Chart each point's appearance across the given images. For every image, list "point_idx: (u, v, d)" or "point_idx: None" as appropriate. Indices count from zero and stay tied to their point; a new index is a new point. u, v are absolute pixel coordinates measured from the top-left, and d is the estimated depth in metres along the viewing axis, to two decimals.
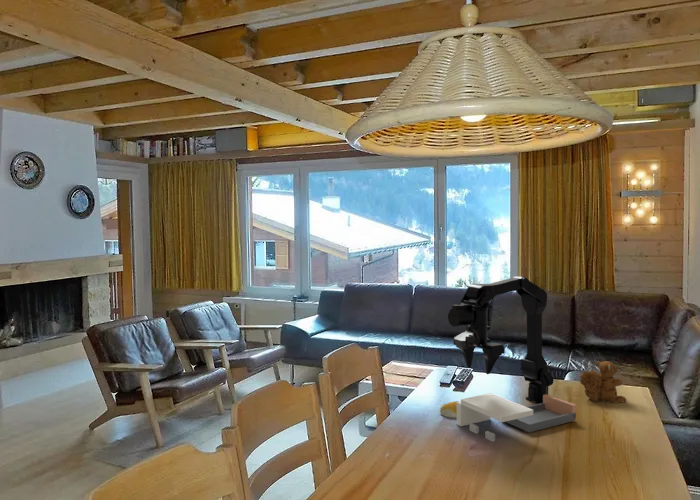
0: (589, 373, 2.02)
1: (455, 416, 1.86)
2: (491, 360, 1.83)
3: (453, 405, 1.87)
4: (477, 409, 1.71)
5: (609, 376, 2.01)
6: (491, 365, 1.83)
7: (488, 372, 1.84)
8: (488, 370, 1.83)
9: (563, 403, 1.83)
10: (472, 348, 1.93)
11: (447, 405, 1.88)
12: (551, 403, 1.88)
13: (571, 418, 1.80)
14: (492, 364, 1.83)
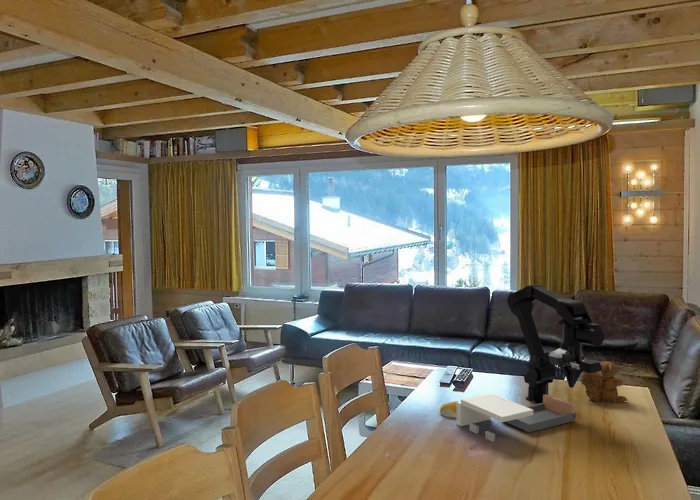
0: (590, 373, 2.02)
1: (455, 416, 1.86)
2: (575, 374, 1.87)
3: (453, 405, 1.87)
4: (477, 409, 1.71)
5: (610, 376, 2.01)
6: (575, 379, 1.87)
7: (572, 386, 1.88)
8: (573, 383, 1.88)
9: (563, 403, 1.83)
10: None
11: (447, 405, 1.88)
12: (551, 403, 1.88)
13: (571, 418, 1.80)
14: (576, 378, 1.88)
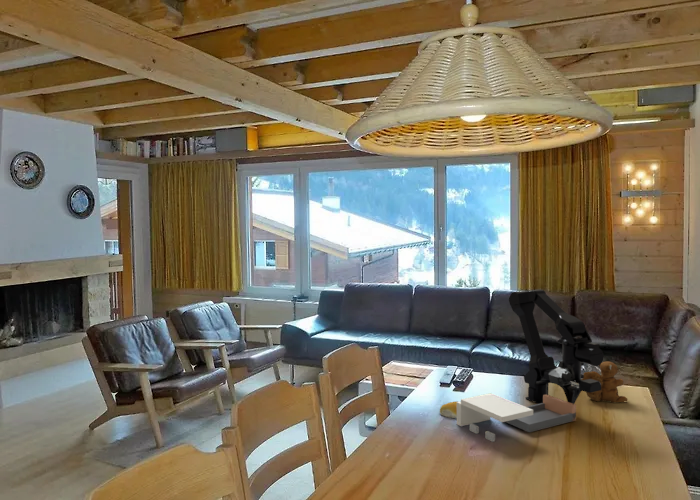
0: (590, 373, 2.02)
1: (455, 416, 1.85)
2: (575, 393, 1.87)
3: (452, 405, 1.87)
4: (477, 409, 1.71)
5: (610, 376, 2.01)
6: (575, 397, 1.88)
7: None
8: (572, 402, 1.88)
9: (563, 403, 1.83)
10: None
11: (446, 405, 1.88)
12: (551, 403, 1.88)
13: (571, 418, 1.80)
14: (576, 396, 1.88)
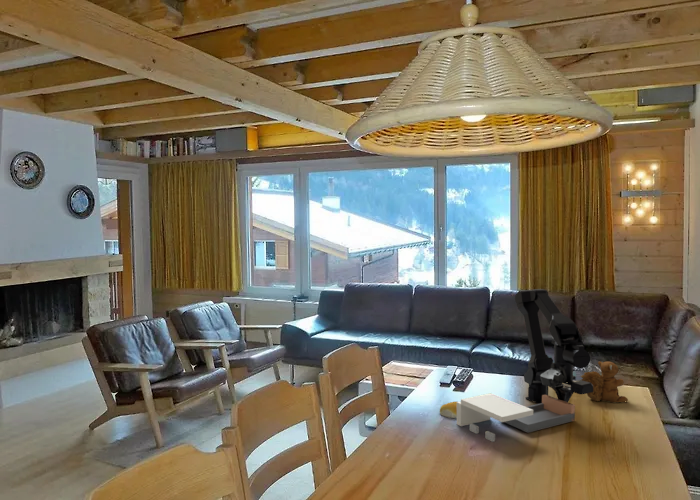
0: (591, 373, 2.02)
1: (454, 416, 1.85)
2: (567, 394, 1.86)
3: (452, 405, 1.87)
4: (477, 409, 1.71)
5: (610, 376, 2.01)
6: (567, 399, 1.86)
7: None
8: None
9: (562, 403, 1.83)
10: None
11: (446, 405, 1.88)
12: (550, 403, 1.87)
13: (570, 418, 1.80)
14: (568, 398, 1.86)
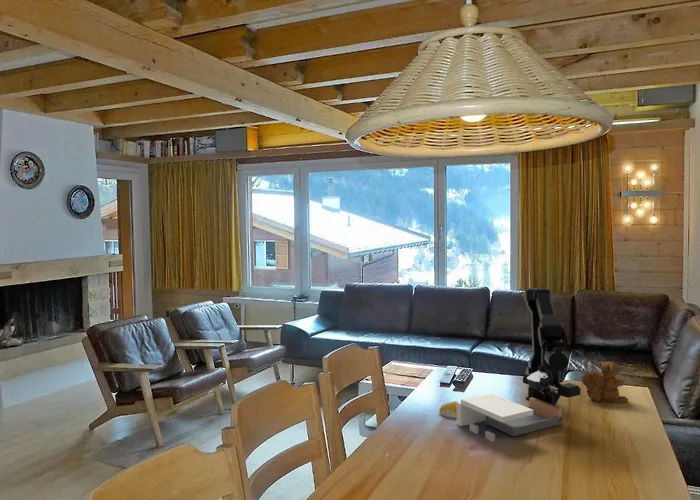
0: (591, 373, 2.02)
1: (454, 416, 1.85)
2: (554, 397, 1.83)
3: (452, 405, 1.87)
4: (477, 409, 1.71)
5: (611, 376, 2.01)
6: (554, 402, 1.83)
7: None
8: None
9: (549, 406, 1.80)
10: None
11: (446, 405, 1.88)
12: (537, 406, 1.85)
13: (557, 422, 1.77)
14: (555, 401, 1.83)
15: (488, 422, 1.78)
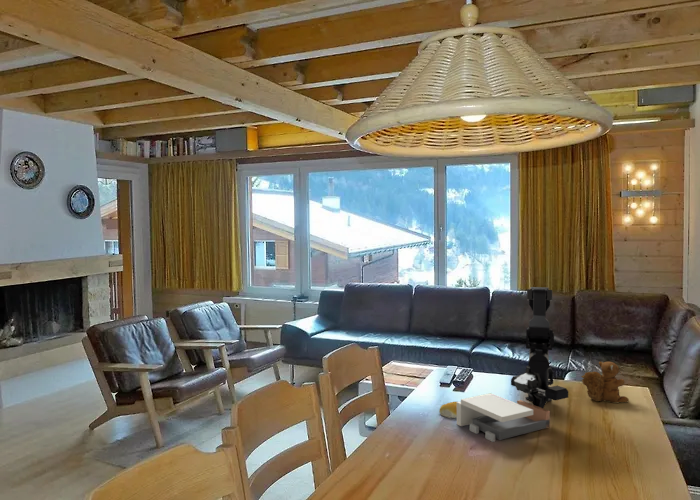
0: (591, 373, 2.02)
1: (454, 416, 1.85)
2: (542, 400, 1.80)
3: (452, 405, 1.87)
4: (477, 409, 1.71)
5: (611, 376, 2.01)
6: (542, 405, 1.81)
7: None
8: None
9: (537, 409, 1.78)
10: None
11: (446, 405, 1.88)
12: None
13: (545, 425, 1.75)
14: (543, 404, 1.81)
15: None
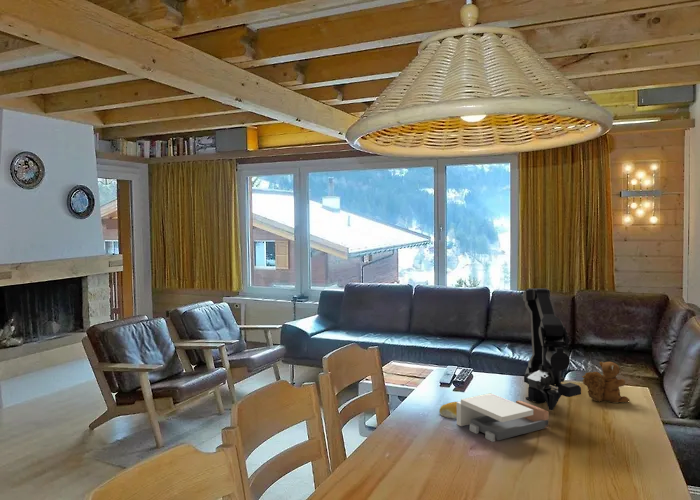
0: (592, 374, 2.02)
1: (454, 416, 1.85)
2: (555, 397, 1.83)
3: (452, 405, 1.87)
4: (477, 409, 1.71)
5: (612, 376, 2.00)
6: (555, 402, 1.83)
7: (552, 408, 1.84)
8: (552, 406, 1.84)
9: (536, 409, 1.78)
10: None
11: (446, 405, 1.88)
12: None
13: (543, 425, 1.75)
14: (556, 401, 1.84)
15: None
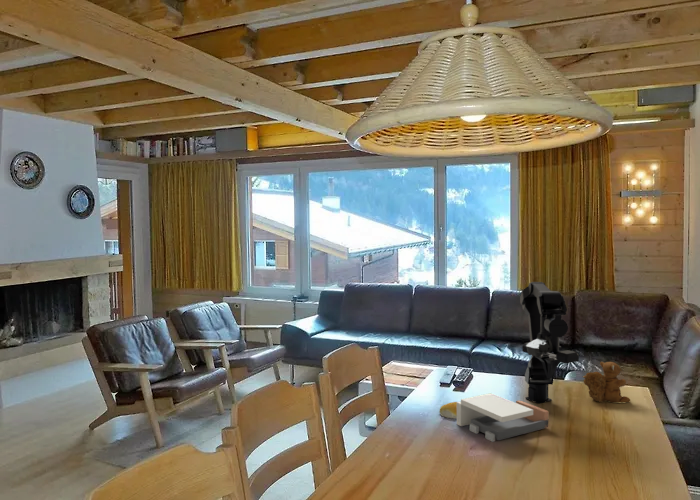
0: (593, 374, 2.01)
1: (454, 417, 1.85)
2: (553, 365, 1.86)
3: (452, 406, 1.87)
4: (477, 409, 1.71)
5: (613, 376, 2.00)
6: (553, 369, 1.86)
7: (550, 376, 1.87)
8: (550, 374, 1.87)
9: (536, 409, 1.78)
10: None
11: (446, 406, 1.88)
12: None
13: (543, 425, 1.75)
14: (554, 368, 1.86)
15: None
